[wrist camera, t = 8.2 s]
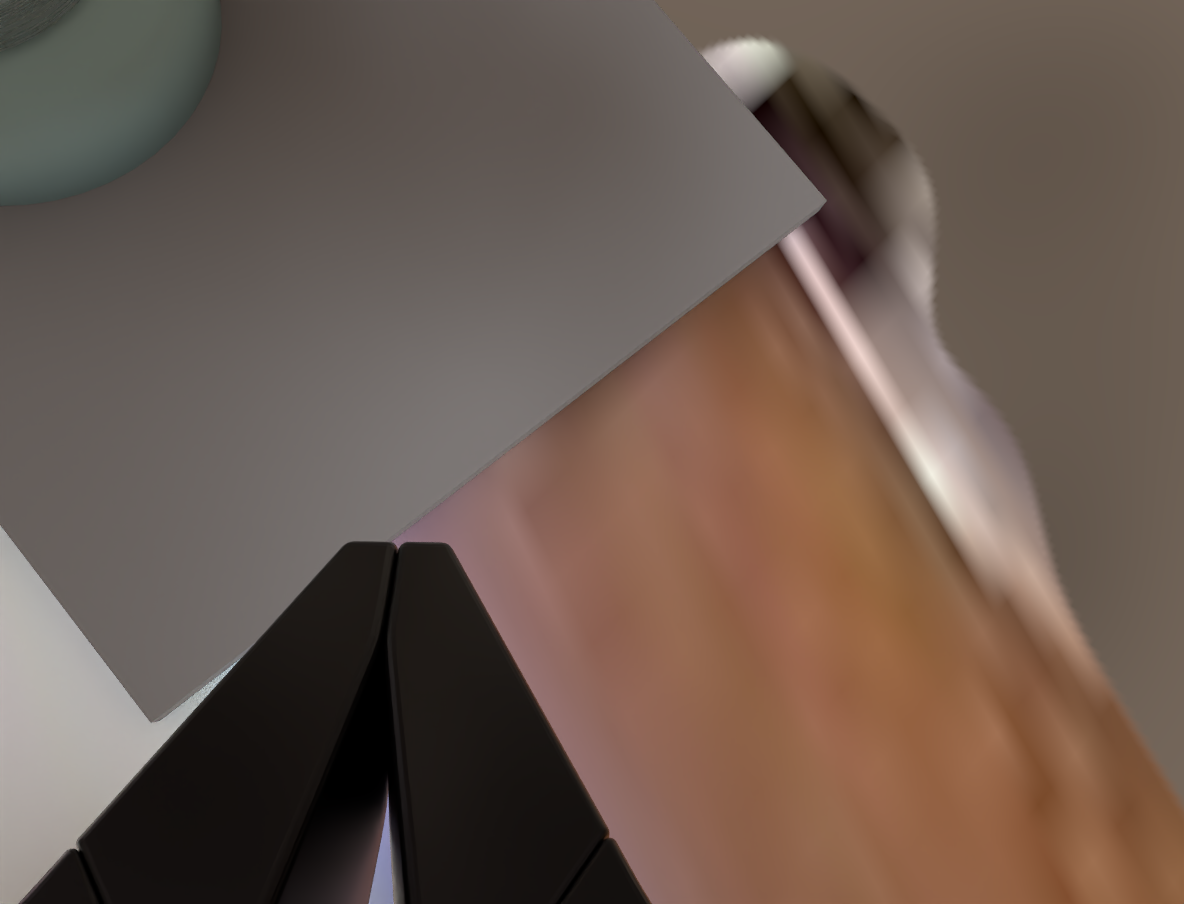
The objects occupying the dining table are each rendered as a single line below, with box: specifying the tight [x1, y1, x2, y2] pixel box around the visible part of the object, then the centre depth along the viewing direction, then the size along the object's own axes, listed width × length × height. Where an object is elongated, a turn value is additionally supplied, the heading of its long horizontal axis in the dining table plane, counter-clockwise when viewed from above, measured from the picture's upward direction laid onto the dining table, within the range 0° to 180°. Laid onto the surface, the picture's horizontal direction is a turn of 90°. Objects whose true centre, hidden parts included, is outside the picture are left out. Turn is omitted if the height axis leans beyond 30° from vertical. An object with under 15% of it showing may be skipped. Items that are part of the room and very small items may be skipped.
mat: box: [0, 0, 827, 723], centre depth 23 cm, size 19×19×1 cm
